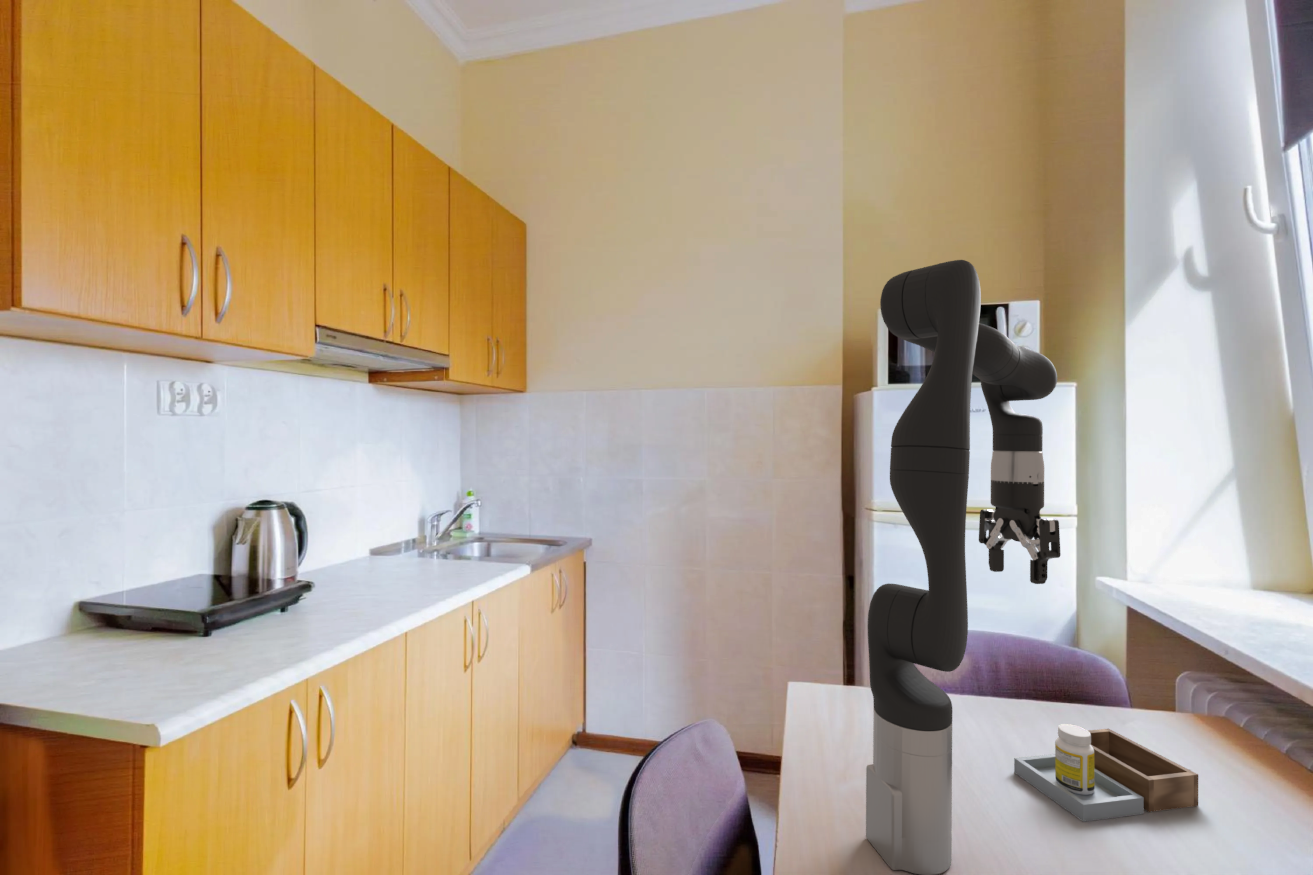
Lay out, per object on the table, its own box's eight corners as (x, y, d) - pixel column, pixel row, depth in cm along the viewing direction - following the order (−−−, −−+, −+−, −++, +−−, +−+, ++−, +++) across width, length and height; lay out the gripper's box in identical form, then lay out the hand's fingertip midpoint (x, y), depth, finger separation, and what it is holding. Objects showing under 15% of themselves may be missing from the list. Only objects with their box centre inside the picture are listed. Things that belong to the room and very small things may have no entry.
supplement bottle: (1081, 778, 88) (1081, 723, 88) (1102, 797, 84) (1102, 738, 84) (1048, 776, 89) (1048, 721, 89) (1066, 794, 84) (1067, 736, 84)
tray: (1083, 821, 79) (1083, 804, 79) (1014, 772, 91) (1014, 757, 91) (1143, 813, 81) (1143, 797, 81) (1068, 766, 93) (1068, 752, 93)
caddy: (1149, 811, 82) (1149, 780, 82) (1064, 759, 95) (1064, 732, 95) (1198, 805, 83) (1198, 774, 83) (1108, 755, 97) (1108, 728, 97)
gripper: (966, 476, 102) (965, 568, 101) (1032, 481, 88) (1032, 588, 87) (1003, 476, 103) (1002, 567, 103) (1074, 481, 89) (1074, 587, 89)
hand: (1016, 577), depth 95 cm, fingers open, 8 cm apart
